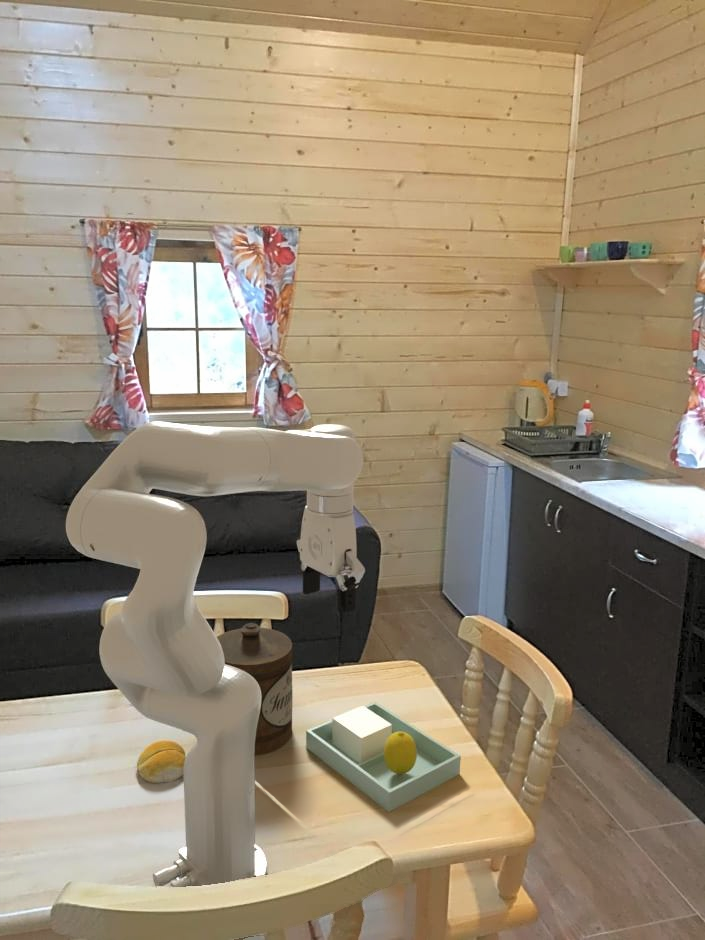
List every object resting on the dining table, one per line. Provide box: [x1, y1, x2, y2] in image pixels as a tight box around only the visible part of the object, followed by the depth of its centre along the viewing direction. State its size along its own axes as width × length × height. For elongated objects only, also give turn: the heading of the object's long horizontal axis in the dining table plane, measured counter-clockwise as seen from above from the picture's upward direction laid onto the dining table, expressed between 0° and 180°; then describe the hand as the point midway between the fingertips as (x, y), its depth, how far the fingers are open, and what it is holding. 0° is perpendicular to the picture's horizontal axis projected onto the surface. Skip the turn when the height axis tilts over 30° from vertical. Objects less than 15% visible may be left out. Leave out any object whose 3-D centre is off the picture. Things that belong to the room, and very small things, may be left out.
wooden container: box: [216, 622, 293, 757], centre depth 144 cm, size 15×15×22 cm
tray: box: [305, 701, 462, 813], centre depth 138 cm, size 16×22×4 cm
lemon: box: [384, 731, 417, 775], centre depth 134 cm, size 6×6×8 cm
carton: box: [331, 705, 392, 763], centre depth 142 cm, size 7×8×5 cm
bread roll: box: [136, 740, 187, 784], centre depth 136 cm, size 8×9×4 cm
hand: (328, 601), depth 133 cm, fingers open, 9 cm apart
